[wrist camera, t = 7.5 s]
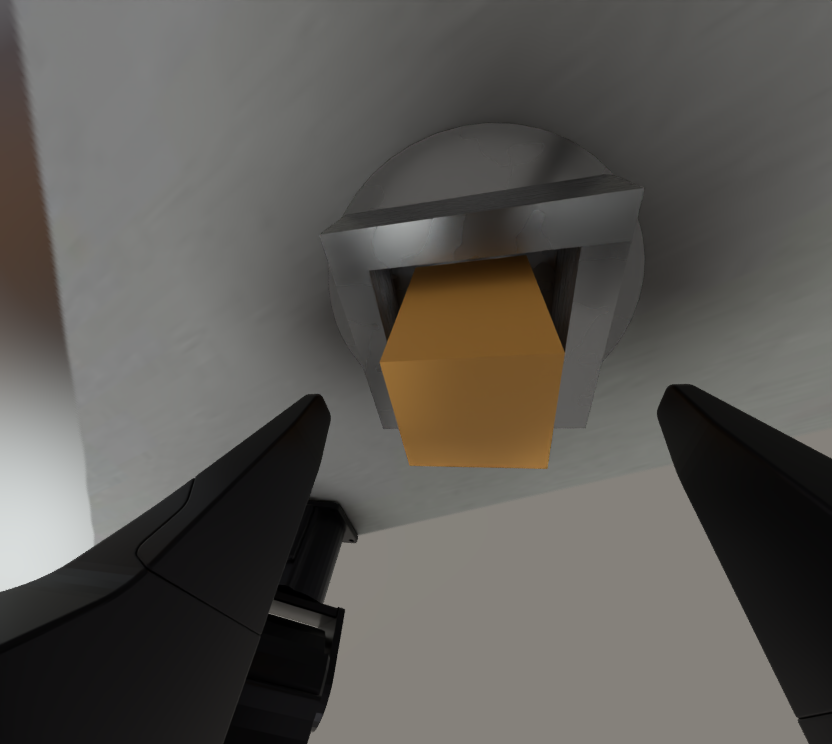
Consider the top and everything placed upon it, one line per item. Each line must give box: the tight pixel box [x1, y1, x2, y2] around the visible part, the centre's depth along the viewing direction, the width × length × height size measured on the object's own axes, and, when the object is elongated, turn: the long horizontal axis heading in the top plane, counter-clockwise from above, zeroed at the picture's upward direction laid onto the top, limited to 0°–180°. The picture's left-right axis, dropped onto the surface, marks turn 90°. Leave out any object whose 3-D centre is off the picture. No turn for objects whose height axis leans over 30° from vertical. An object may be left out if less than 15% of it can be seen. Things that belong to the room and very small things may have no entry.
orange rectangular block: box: [380, 255, 565, 469], centre depth 10 cm, size 4×4×6 cm
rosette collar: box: [319, 123, 645, 429], centre depth 12 cm, size 12×12×3 cm
